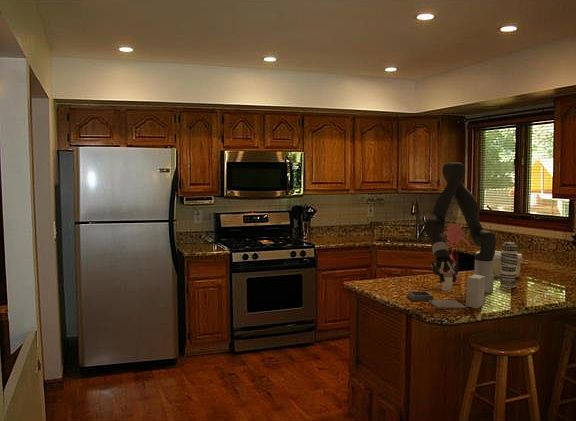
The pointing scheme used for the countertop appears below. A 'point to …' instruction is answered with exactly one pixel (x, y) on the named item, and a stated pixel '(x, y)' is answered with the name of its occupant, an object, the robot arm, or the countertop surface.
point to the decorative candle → (508, 264)
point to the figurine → (454, 240)
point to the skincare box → (475, 291)
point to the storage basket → (497, 264)
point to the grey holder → (420, 295)
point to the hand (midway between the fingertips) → (448, 281)
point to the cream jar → (447, 282)
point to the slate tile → (446, 304)
